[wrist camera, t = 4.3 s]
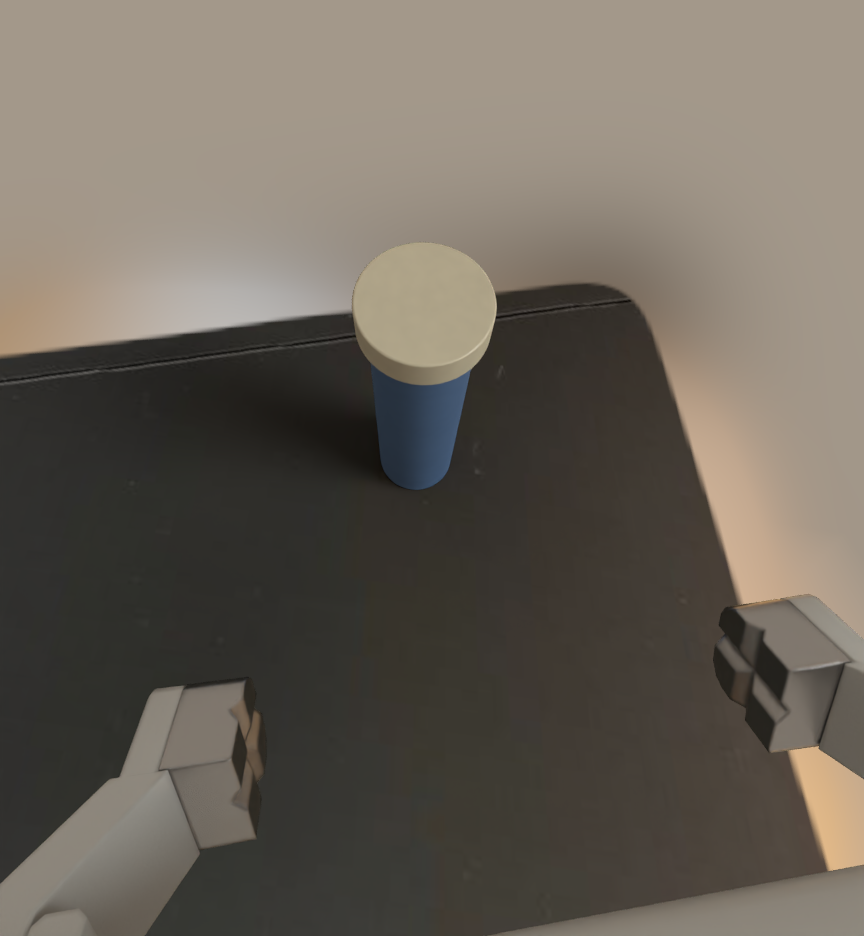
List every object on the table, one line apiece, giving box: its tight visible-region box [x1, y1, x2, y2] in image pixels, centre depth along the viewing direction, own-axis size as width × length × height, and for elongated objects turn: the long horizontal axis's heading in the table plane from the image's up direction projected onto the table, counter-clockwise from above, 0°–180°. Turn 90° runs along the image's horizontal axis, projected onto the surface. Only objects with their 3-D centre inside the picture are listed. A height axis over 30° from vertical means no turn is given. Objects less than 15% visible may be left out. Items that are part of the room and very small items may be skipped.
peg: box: [352, 242, 497, 490], centre depth 20 cm, size 3×3×11 cm
